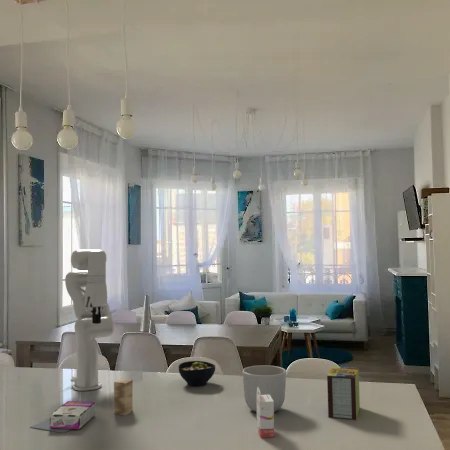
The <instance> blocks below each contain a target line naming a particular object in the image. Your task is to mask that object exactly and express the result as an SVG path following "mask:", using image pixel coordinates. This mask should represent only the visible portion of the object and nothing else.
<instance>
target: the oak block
mask: <svg viewBox="0 0 450 450" xmlns="http://www.w3.org/2000/svg"><path fill="white" fill-rule="evenodd" d="M113 395H114V396H113V413H114V415H120V414H121V416H127V415H128V414H131V413H132V412H133V380H132V379H127V378H126V379H125V378H121V379H118V380H116V381H113ZM131 411H132V412H131Z"/></svg>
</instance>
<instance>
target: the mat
mask: <svg viewBox="0 0 450 450" xmlns="http://www.w3.org/2000/svg"><path fill="white" fill-rule="evenodd" d="M93 419H96V416H93V417H91V418H90V419H89V420H88V421H87V422H89V421H91V420H93ZM29 428H30V429H37V430H43V431H49V432H54V433H60V434H61V433H62V434H65V433H67V432H69V431H71V430H72V429H61V428H50V417H49V418H47V419H44V420H42V421H40V422H38V423H36V424H33V425H32V426H30V427H29Z"/></svg>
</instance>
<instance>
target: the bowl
mask: <svg viewBox="0 0 450 450" xmlns="http://www.w3.org/2000/svg"><path fill="white" fill-rule="evenodd" d="M177 367H178V373H179V375H180V377H181V378H182V379H183V380H184V381H185V382H186V384H187V386H189V387H192V388H198V387H199V388H200V387H204V386H206V385H207V383H208V382H209V381H210V380H211V378H212V377H213V376H214V374H215V372H216V365H215V364H214V363H212V362H207V361H202V360H201V361H200V360H189V361H183V362H182V363H180V364H178V366H177Z"/></svg>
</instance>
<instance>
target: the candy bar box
mask: <svg viewBox="0 0 450 450" xmlns="http://www.w3.org/2000/svg"><path fill="white" fill-rule="evenodd" d="M95 415H96V402H95V401H80V400H79V401H77V400H67V401H66V402H65V403H63V404H62V405H61V406H59V407H58V408H57V409H55V411H53V412H52V413H50V414H49V418H50V428H61V429H71V430H81V428H82V427H83V426H84V425H85V424H86V423H87V422H89V421H90V420H89V419H90V418H91V417H95ZM88 420H89V421H88Z"/></svg>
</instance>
